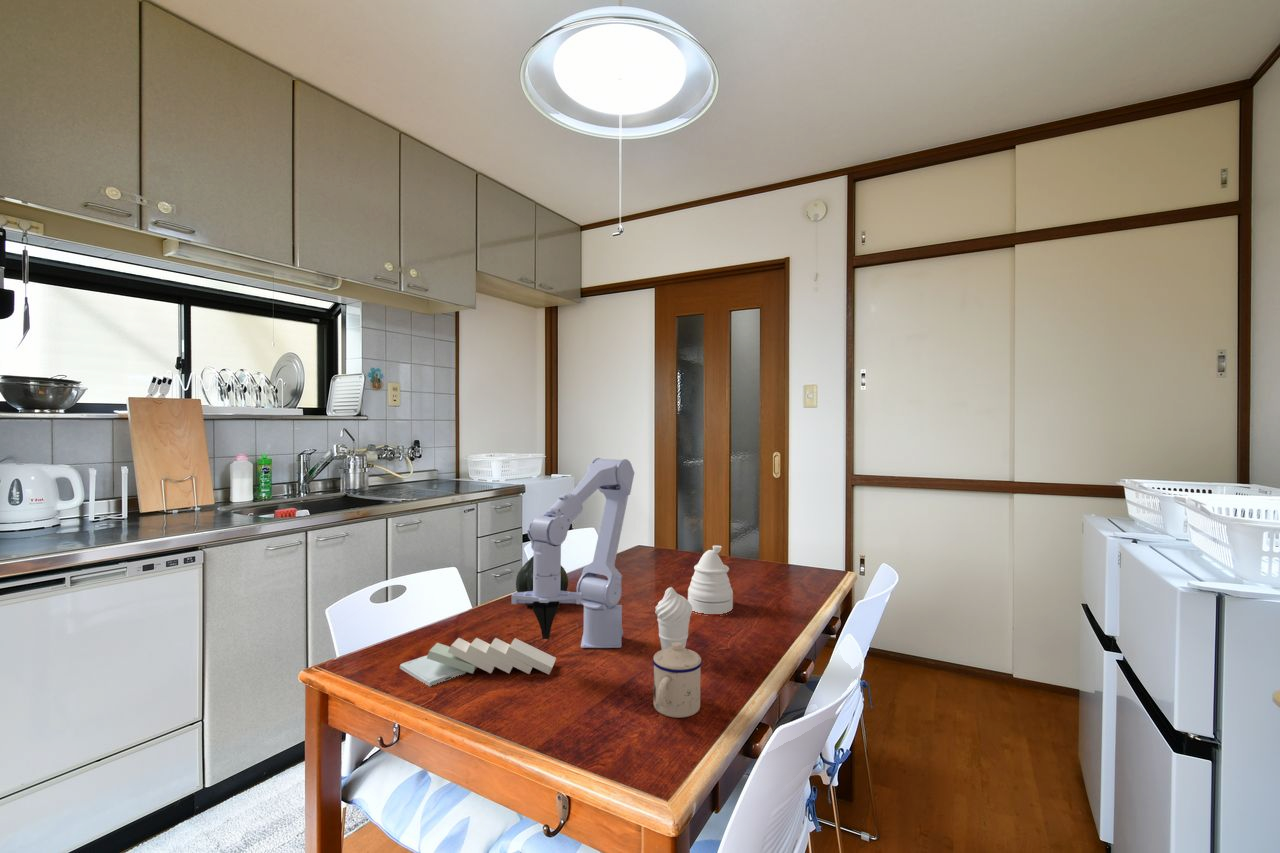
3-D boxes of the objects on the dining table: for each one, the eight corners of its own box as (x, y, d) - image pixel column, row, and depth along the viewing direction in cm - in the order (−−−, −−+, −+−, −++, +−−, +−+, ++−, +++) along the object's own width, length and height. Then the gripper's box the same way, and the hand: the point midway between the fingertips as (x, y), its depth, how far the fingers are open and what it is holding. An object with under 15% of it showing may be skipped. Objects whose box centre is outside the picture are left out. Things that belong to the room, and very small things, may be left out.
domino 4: (536, 657, 119) (495, 637, 119) (532, 667, 114) (489, 646, 114) (533, 664, 119) (492, 644, 119) (529, 674, 114) (485, 653, 114)
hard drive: (399, 663, 117) (429, 681, 109) (435, 652, 123) (466, 668, 115) (399, 671, 117) (429, 690, 109) (435, 659, 123) (466, 676, 115)
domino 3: (517, 658, 119) (476, 637, 119) (512, 666, 114) (469, 645, 114) (514, 664, 119) (473, 644, 119) (509, 673, 114) (466, 652, 114)
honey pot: (739, 606, 160) (740, 544, 160) (721, 619, 149) (722, 552, 149) (699, 598, 167) (700, 539, 167) (679, 610, 156) (680, 546, 156)
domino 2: (500, 657, 119) (458, 637, 119) (494, 666, 114) (451, 645, 114) (496, 664, 119) (455, 644, 119) (490, 673, 114) (447, 652, 114)
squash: (555, 595, 151) (564, 546, 161) (503, 594, 153) (516, 546, 163) (567, 617, 161) (575, 570, 171) (518, 615, 163) (529, 569, 173)
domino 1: (481, 657, 119) (437, 642, 119) (475, 666, 114) (429, 650, 114) (478, 664, 119) (434, 649, 119) (472, 673, 114) (426, 658, 114)
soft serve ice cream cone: (695, 654, 125) (696, 584, 125) (686, 670, 117) (687, 594, 118) (660, 649, 128) (661, 580, 128) (649, 664, 120) (650, 590, 120)
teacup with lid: (664, 690, 108) (664, 631, 108) (708, 701, 104) (709, 639, 104) (636, 719, 97) (637, 653, 97) (684, 732, 93) (685, 663, 93)
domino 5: (556, 658, 119) (514, 637, 120) (552, 667, 114) (509, 646, 115) (553, 664, 119) (511, 644, 120) (549, 674, 114) (505, 653, 115)
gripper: (508, 578, 113) (508, 644, 113) (579, 578, 113) (579, 644, 113) (515, 569, 120) (514, 631, 120) (582, 569, 120) (581, 631, 120)
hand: (546, 637), depth 117 cm, fingers closed
